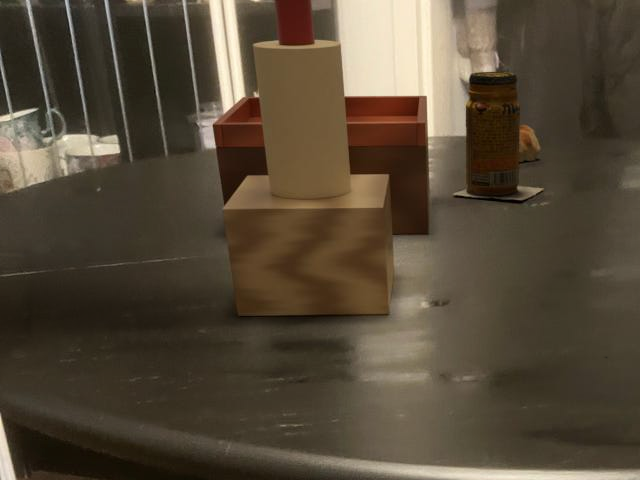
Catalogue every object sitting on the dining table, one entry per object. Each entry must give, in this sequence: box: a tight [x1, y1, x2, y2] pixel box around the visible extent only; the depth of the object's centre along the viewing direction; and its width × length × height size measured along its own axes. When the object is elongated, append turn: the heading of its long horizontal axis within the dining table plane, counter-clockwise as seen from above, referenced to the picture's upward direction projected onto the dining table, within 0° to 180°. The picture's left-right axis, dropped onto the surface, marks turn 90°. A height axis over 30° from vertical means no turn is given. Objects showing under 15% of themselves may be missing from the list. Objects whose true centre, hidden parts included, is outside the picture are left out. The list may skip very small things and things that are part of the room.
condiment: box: [452, 71, 544, 201], centre depth 109 cm, size 7×8×12 cm
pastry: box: [519, 124, 541, 163], centre depth 127 cm, size 9×7×4 cm
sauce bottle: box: [252, 0, 351, 199], centre depth 74 cm, size 6×6×13 cm
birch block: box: [221, 174, 395, 317], centre depth 80 cm, size 12×12×8 cm
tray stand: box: [212, 95, 431, 235], centre depth 102 cm, size 20×18×10 cm
